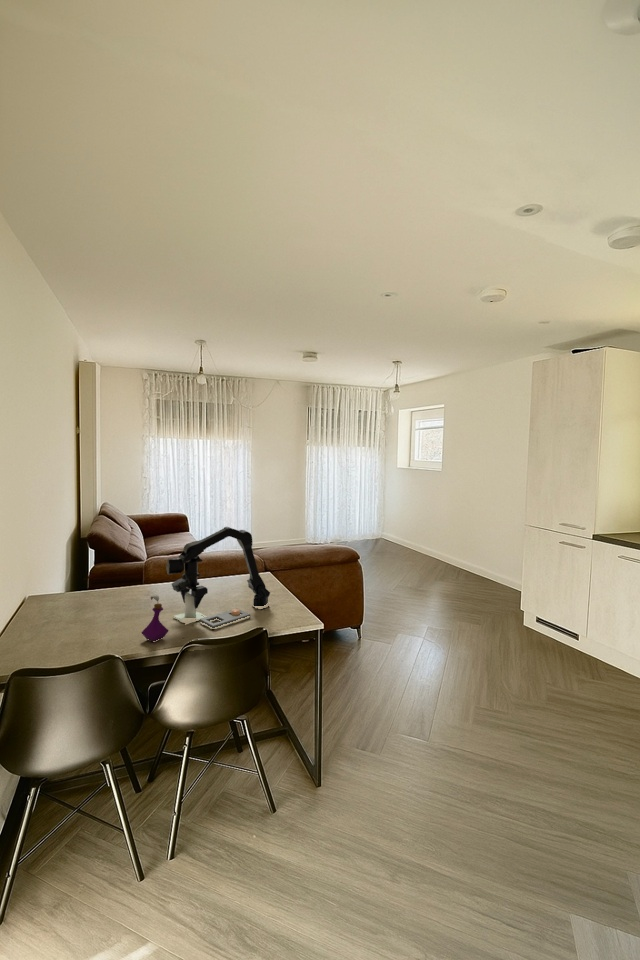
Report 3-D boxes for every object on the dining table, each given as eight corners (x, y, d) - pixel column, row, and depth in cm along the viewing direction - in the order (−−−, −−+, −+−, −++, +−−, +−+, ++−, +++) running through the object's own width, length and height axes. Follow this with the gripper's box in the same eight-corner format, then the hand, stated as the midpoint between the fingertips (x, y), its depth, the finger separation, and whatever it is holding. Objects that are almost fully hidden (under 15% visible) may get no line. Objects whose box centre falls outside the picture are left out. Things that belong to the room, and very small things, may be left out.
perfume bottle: (168, 638, 182) (169, 595, 181) (153, 645, 176) (153, 600, 174) (156, 634, 186) (156, 591, 184) (141, 640, 179) (141, 596, 178)
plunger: (236, 614, 209) (236, 608, 209) (241, 617, 206) (241, 610, 206) (229, 617, 206) (229, 610, 206) (234, 619, 203) (234, 613, 203)
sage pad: (194, 612, 211) (194, 610, 211) (207, 618, 204) (207, 616, 204) (172, 618, 203) (172, 616, 203) (185, 625, 196) (185, 623, 196)
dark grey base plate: (236, 612, 213) (237, 608, 213) (250, 618, 206) (250, 614, 206) (200, 623, 198) (200, 619, 198) (213, 630, 191) (213, 625, 191)
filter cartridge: (192, 613, 207) (192, 590, 206) (198, 616, 204) (198, 593, 203) (182, 616, 203) (182, 592, 202) (188, 619, 200) (188, 595, 199)
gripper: (163, 570, 202) (163, 604, 203) (185, 579, 190) (185, 615, 191) (186, 566, 211) (185, 598, 212) (208, 574, 198) (208, 609, 199)
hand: (190, 605), depth 203 cm, fingers open, 9 cm apart
